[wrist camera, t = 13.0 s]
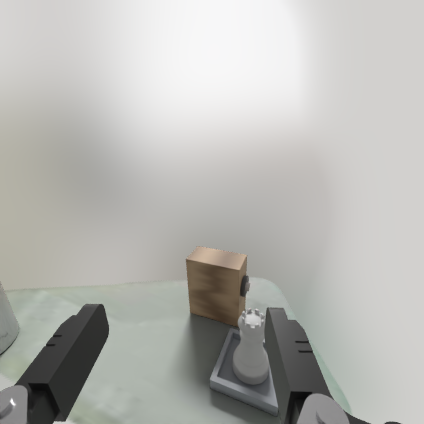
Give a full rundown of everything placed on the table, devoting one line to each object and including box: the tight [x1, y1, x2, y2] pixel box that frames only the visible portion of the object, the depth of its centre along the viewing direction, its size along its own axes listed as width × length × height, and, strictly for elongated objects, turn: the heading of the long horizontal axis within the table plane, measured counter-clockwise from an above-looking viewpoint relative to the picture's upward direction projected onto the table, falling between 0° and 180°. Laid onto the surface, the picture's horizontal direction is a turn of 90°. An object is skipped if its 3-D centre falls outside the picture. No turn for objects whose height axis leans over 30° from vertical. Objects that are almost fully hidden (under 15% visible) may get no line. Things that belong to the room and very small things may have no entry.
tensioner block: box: [186, 246, 250, 327], centre depth 35 cm, size 9×4×10 cm, turn 68°
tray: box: [210, 328, 278, 417], centre depth 27 cm, size 7×7×2 cm
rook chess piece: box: [232, 308, 270, 385], centre depth 26 cm, size 4×4×8 cm
